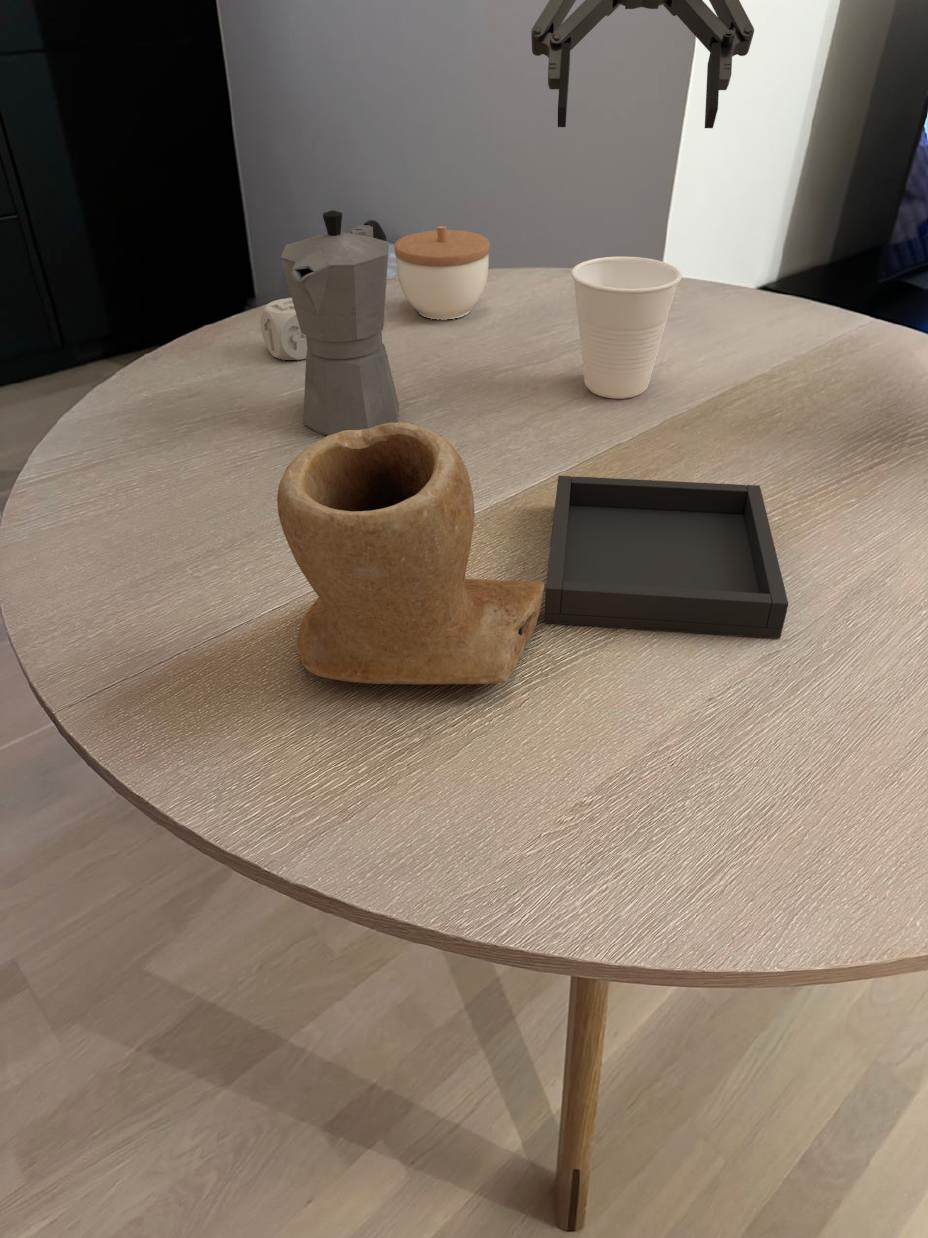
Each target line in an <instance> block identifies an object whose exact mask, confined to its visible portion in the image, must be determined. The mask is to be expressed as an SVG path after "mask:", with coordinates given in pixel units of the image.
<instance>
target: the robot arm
mask: <svg viewBox="0 0 928 1238" xmlns="http://www.w3.org/2000/svg"><path fill="white" fill-rule="evenodd" d="M576 1H577V0H549V1H548V2H547V4H546V5H545V7H544V8H543V10H542V12H541V13H540V15H539V17H538V18H537V20H536V21H535V23H534V25H533V26H532V28H531V29H530V31H531V33H530V35H531V36H530V37H531V38H530V39H531V53H532V54H533V55H534V56H537V57H539V56H542V55H544V56H546V57H547V58H548V65H547V86H548V89H549V90H558V96H557V97H558V99H557V128H566V126H567V113H568V98H569V85H570V84H569V83H570V69H571V68H570V67H571V51H572V50H573V49H574V48H575V47H576V46H577V45H578V44H579V43H580V42H581V41H582V40H584V38H585V37H586V36H587V35H588V34H589V33H590V32H591V31H592V30H593V29H594V28H595V27H596V26H597V25H598V24H599V23H600V22H601V21H602V20H603V19H604V18H605V17H610V16H611V15H612V14H613V13H614V12H615V11H616V10H617V9H618V8H619V7H620V6H624V9H625V10H636V9H639V8H645V9H649V10H658V9H659V7H660V6H664V8H665V9H666V11H668V12H669V14H671V15H672V16H673V17H675V16H676V17H677V18H678V19H680V21H681V22H682V23H683V24H684V25H685V26H686V27H687V28H688V30H689V31H690V32H691V34H693V35H694V36H695V37H696V39H698V41H699V43H701V44H702V45H703V46H704V47H705V48H706V50H707V51H708V52H709V56H708V61H707V67H706V68H707V69H706V73H707V74H706V88H705V89H706V91H705V111H704V112H705V113H704V129H714V126H715V121H716V118H717V114H718V110H719V93H720V91H727V90H728V88H729V85H730V82H731V78H732V72H733V71H732V70H733V69H732V68H733V57H734V56H736V55H738V56H740V57H744V56H746V55H748V54H749V51H750V49H751V45H752V41H753V38H754V34H755V28H754V25H753V24H752V22H751V21H750V18H749V16H748V14H747V13H746V11H745V9H744V7H743V5H742V3H741V1H740V0H708V1H709V3H710V6H711V7H712V9H711V8H710V6H708V5H707V3H705V1H704V0H584V1H583V2H582V3H581V4H580V5H579V6H578V7H577V8H576V9H575V10H574V11H573V12H571V14H570V15H569V16H568V14H569V12H570V11H571V9H572V7H573V6H574V4H575V3H576ZM567 16H568V17H567Z"/></svg>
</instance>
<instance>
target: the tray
mask: <svg viewBox="0 0 928 1238" xmlns="http://www.w3.org/2000/svg"><path fill="white" fill-rule="evenodd" d="M761 488H762V487H761V486H760V485H757V484H736V483H735V484H733V483H717V482H716V483H715V482H698V481H697V482H695V481H691V482H690V481H674V480H655V479H654V480H653V479H635V478H615V477H596V476H595V477H592V476H573V475H572V476H571V475H558V476H557V483H556V491H555V492H556V493H555V500H554V501H555V504H554V511H553V519H552V520H553V522H552V529H551V537H550V545H549V546H550V547H549V554H548V555H549V557H548V566H547V575H546V582H545V583H546V584H545V595H544V596H545V598H544V599H545V600H544V621H543V622H544V623H545V624H558V625H571V626H572V625H573V626H587V627H601V628H603V627H604V628H616V629H629V630H630V629H631V630H643V631H645V630H647V631H661V632H674V633H687V634H689V633H691V634H704V635H705V634H706V635H720V636H734V637H748V638H749V637H750V638H765V639H778V640H779V639H781V637H782V632H783V628H784V625H785V620H786V616H787V611H788V607H789V601H788V596H787V592H786V588H785V584H784V580H783V575H782V572H781V568H780V563H779V558H778V555H777V551H776V546H775V542H774V539H773V534H772V530H771V526H770V521H769V517H768V513H767V510H766V505H765V502H764V497H763V492H762V489H761Z"/></svg>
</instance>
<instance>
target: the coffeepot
mask: <svg viewBox="0 0 928 1238" xmlns="http://www.w3.org/2000/svg"><path fill="white" fill-rule="evenodd" d="M322 218H323V222H324V225H325V229H326V232H327V233H325V234H320V235H316V236H312V237H308V238H306V239H302V240H298V241H294V242H290V243H287V244H285V246H284V248H283V251H282V253H281V256H280V260H281V264H282V268H283V272H284V275H285V279H286V283H287V286H288V290H289V293H290V298H292V301H293V304H294V308H295V312H296V315H297V319H298V323H299V326H300V330H301V333H303V334H305V335H306V341H307V353H306V359H305V372H304V373H305V374H304V398H303V418H302V419H303V420H302V423H303V425H305V426H306V427H308V428H309V429H310V430H312V431H313V432H315V433H318V434H321V435H323V436H328V435H332V434H335V433H338V432H341V431H345V430H362V429H368V428H372V427H374V426H378V425H381V424H386V423H397V422H398V420H399V405H400V404H399V400H398V395H397V391H396V386H395V383H394V378H393V375H392V370H391V365H390V362H389V357H388V354H387V350H386V345H385V343H383V330H384V325H385V324H384V323H385V310H386V309H385V308H386V294H387V280H388V279H387V277H388V263H389V249H390V242H389V241H388V239H387V236H386V233H385V232H384V230H383V228H382V227H381V225H380V223H379V222H378V221H376V220H373V219H372V220H371V219H369V220H367V221H365V222H364V223H363V224H361V225H359V224H358V225H356V226H355V227H352V228H350V233H348V232H342V220H343V212H341V211H337V210H334V209H333V210H328V211H325V212H323V213H322Z"/></svg>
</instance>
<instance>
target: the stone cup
mask: <svg viewBox="0 0 928 1238" xmlns="http://www.w3.org/2000/svg"><path fill="white" fill-rule="evenodd" d="M276 496H277V497H276V502H277V504H276V505H277V515H278V519H279V522H280V525H281V530H282V532H283V535H284V537H285V539H286V540H285V541H286V542H287V544H288V547H289V549H290V552H291V553H292V555H293V556H292V557H293V558H294V560H295V563H296V564H297V566H298V568H299V569H300V571H301V573H302V574H303V576H304V577H305V579H306V581H307V582H308V584H309V585H310V587H311V588H312V589H313V591H314V592H315V594H316V595H317V596H318V597H317V599H316V600H315V601H314V602H313V604H311V606H310V607H309V609H308V610H307V612H306V613H305V615H304V617H303V619H302V621H301V623H300V626H299V631H298V634H297V641H296V651H297V652H298V653H299V654H300V661H301V663H302V666H303V667H304V668H305V669H306V670H307V671H308V672H310V673H311V674H313V675H315V676H318V677H320V678H325V679H329V680H336V681H342V682H347V683H355V684H356V683H357V684H370V685H371V684H372V685H379V684H380V685H493V684H494V685H495V684H504V683H506V682H507V681H509V677H510V676H511V675H512V674H513V673H514V672H515V671H516V670H517V666H518V664H519V661H520V659H521V658H522V657H523V655H524V653H525V646H526V645H527V644H528V643H529V641H530V639H531V637H532V636H533V634H534V632H535V630H536V627H537V624H538V623H537V622H538V618H539V616H540V612H541V609H542V603H543V599H544V596H545V593H546V584H545V583H544V582H543V581H541V580H508V579H507V580H505V579H489V578H487V579H486V578H466V574H467V568H468V564H469V559H470V554H471V553H470V552H471V546H472V541H473V534H474V525H475V518H476V517H475V515H476V513H475V501H474V493H473V486H472V482H471V479H470V475H469V472H468V469H467V466H466V464H465V462H464V460H463V458H462V457H461V455H460V454H459V453H458V451H457V450H456V449H455V448H454V446H453V445H452V444H451V443H450V442H449V440H447V439H446V438H445V437H444V436H442V434H441V435H440V434H439V433H437V432H434V431H433V430H431V429H429V428H426V427H424V426H420V425H417V424H413V423H408V422H395V423H386V424H381V425H378V426H374V427H372V428H368V429H362V430H345V431H341V432H338V433H335V434H332V435H328V436H327V435H325V436H324V437H323V438H321V439H318V440H316V441H315V442H314V443H312V444H311V445H309V446H307V447H306V448H305V449H304V450H303V451H302V452H300V453H299V454H298V455H297V456H295V458H293V460H291V462H290V463H289V464H288V465H287V466H286V468H285V471H284V472H283V475H282V477H281V479H280V482H279V484H278V489H277V494H276Z"/></svg>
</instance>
